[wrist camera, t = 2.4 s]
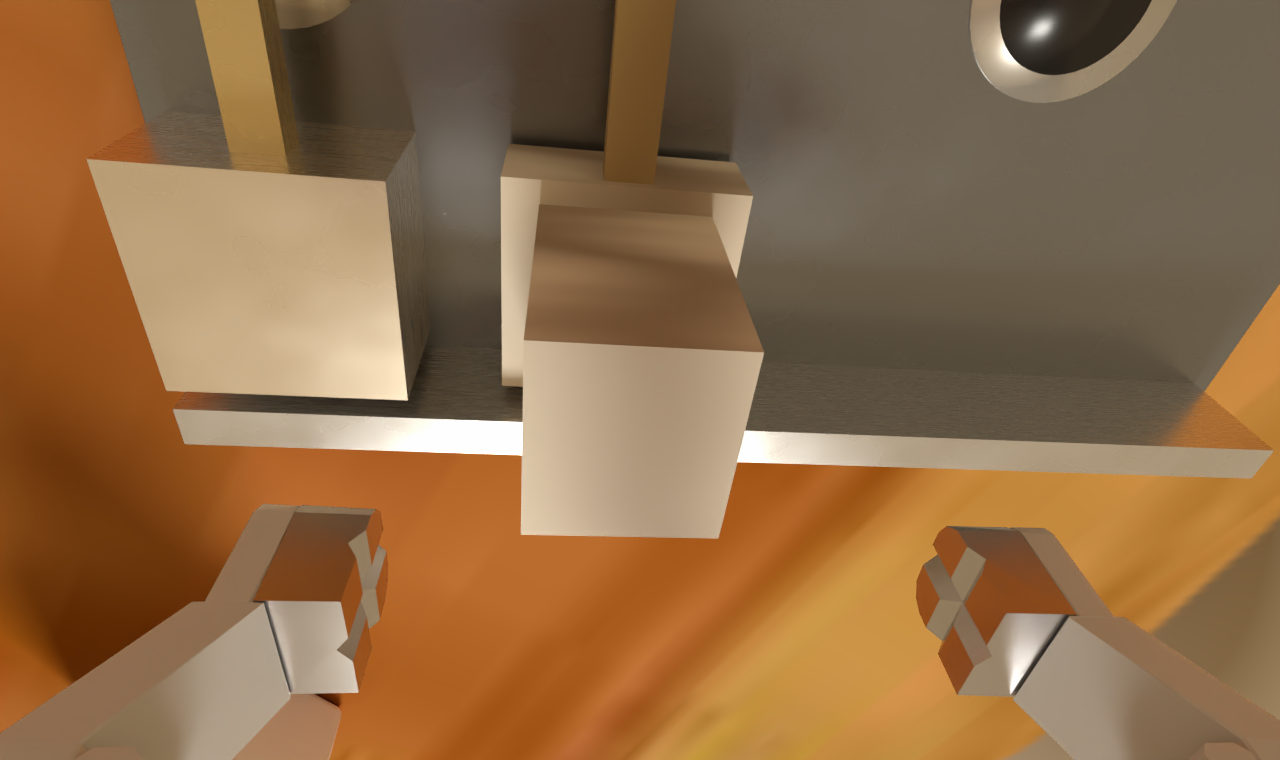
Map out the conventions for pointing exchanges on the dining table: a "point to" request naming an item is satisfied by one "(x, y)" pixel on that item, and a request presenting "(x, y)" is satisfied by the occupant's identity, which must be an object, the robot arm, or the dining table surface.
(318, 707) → the medicine bottle
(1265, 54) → the divider plate
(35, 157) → the dining table surface
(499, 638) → the dining table surface
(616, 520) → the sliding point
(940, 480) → the dining table surface
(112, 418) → the dining table surface
